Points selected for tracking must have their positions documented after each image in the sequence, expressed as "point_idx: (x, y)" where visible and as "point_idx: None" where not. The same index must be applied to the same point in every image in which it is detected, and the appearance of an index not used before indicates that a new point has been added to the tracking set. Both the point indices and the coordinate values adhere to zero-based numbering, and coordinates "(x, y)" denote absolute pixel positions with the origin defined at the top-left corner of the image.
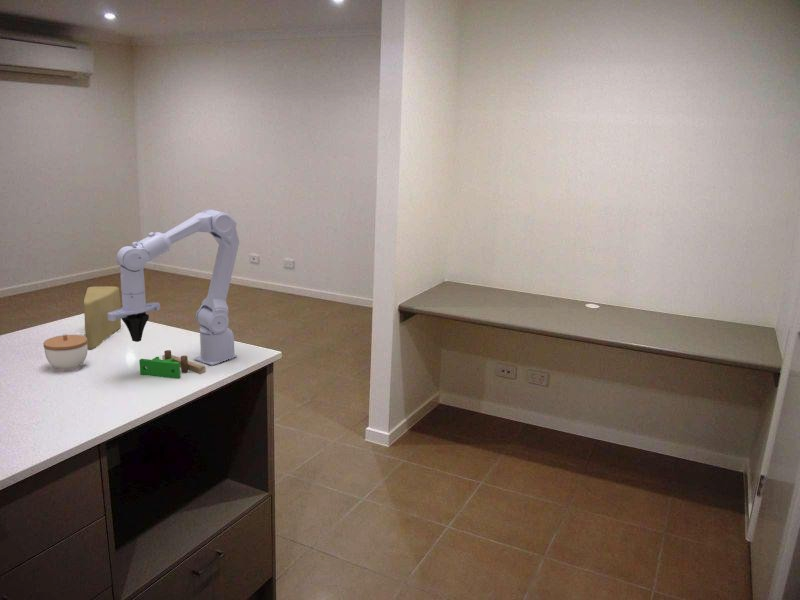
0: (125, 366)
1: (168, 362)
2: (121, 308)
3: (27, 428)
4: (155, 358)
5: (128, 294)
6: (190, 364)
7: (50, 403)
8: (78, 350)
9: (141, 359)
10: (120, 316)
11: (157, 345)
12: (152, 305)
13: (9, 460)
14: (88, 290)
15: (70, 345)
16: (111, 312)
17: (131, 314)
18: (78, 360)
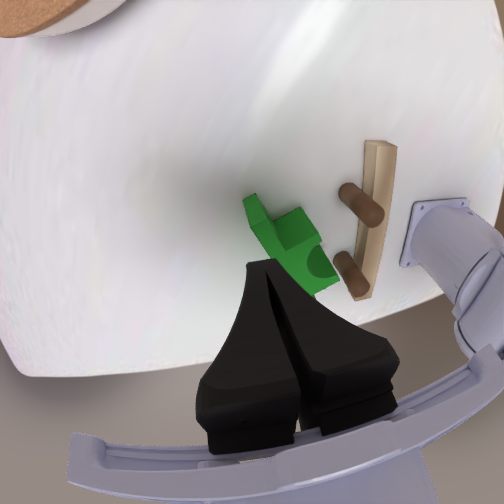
0: (249, 87)
1: None
2: (209, 501)
3: (3, 312)
4: (302, 248)
5: None
6: (363, 271)
7: (10, 246)
8: (68, 21)
9: (260, 226)
10: (162, 465)
11: (428, 18)
12: (434, 440)
13: (12, 358)
14: None
15: (21, 30)
16: (95, 487)
17: (264, 456)
18: (88, 24)
